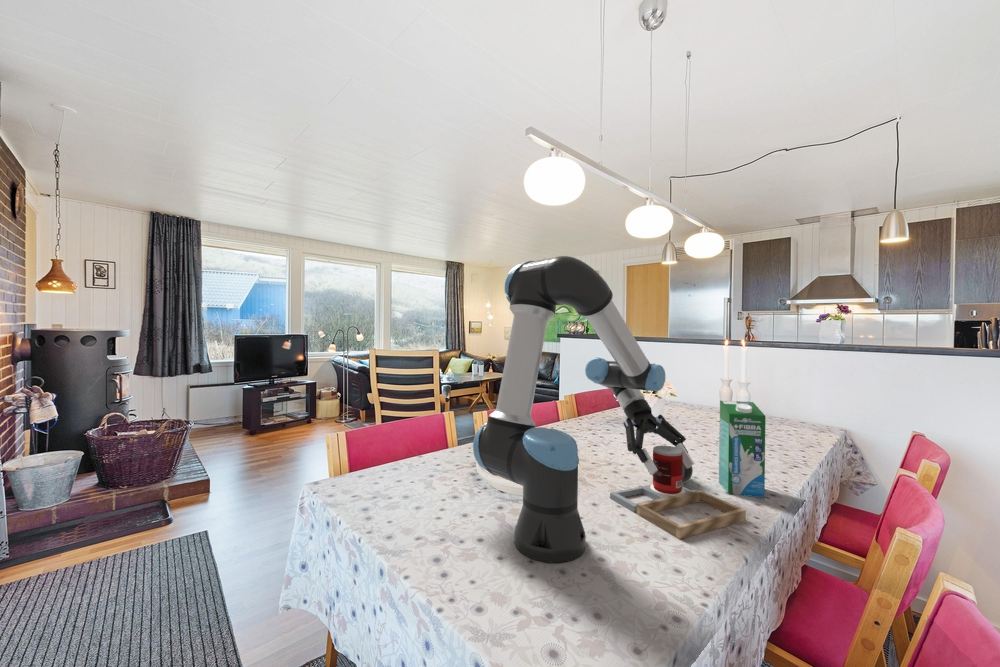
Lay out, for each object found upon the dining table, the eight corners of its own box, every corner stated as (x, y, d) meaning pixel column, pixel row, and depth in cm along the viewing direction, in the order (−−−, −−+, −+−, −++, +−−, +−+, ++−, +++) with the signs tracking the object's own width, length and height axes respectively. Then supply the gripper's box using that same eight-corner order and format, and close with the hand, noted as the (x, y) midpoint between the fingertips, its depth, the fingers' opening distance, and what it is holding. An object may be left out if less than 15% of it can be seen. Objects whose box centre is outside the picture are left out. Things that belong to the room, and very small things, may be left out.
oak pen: (679, 539, 86) (679, 527, 86) (636, 513, 98) (636, 503, 98) (745, 520, 95) (745, 510, 95) (699, 499, 107) (699, 490, 107)
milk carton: (728, 494, 111) (729, 405, 111) (718, 482, 119) (719, 400, 119) (764, 497, 109) (765, 407, 108) (752, 485, 117) (753, 401, 117)
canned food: (679, 485, 113) (680, 446, 113) (684, 496, 105) (685, 454, 105) (651, 482, 115) (651, 444, 115) (654, 492, 107) (654, 452, 107)
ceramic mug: (677, 473, 127) (677, 449, 127) (693, 483, 118) (693, 457, 118) (646, 475, 125) (646, 451, 125) (660, 485, 117) (660, 459, 117)
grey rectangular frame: (633, 512, 99) (633, 505, 99) (610, 498, 107) (610, 492, 107) (695, 497, 108) (696, 491, 108) (669, 485, 116) (669, 480, 116)
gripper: (658, 409, 129) (696, 469, 116) (596, 415, 119) (630, 482, 106) (671, 395, 124) (713, 457, 111) (607, 400, 114) (645, 468, 101)
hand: (672, 469), depth 108 cm, fingers open, 13 cm apart
